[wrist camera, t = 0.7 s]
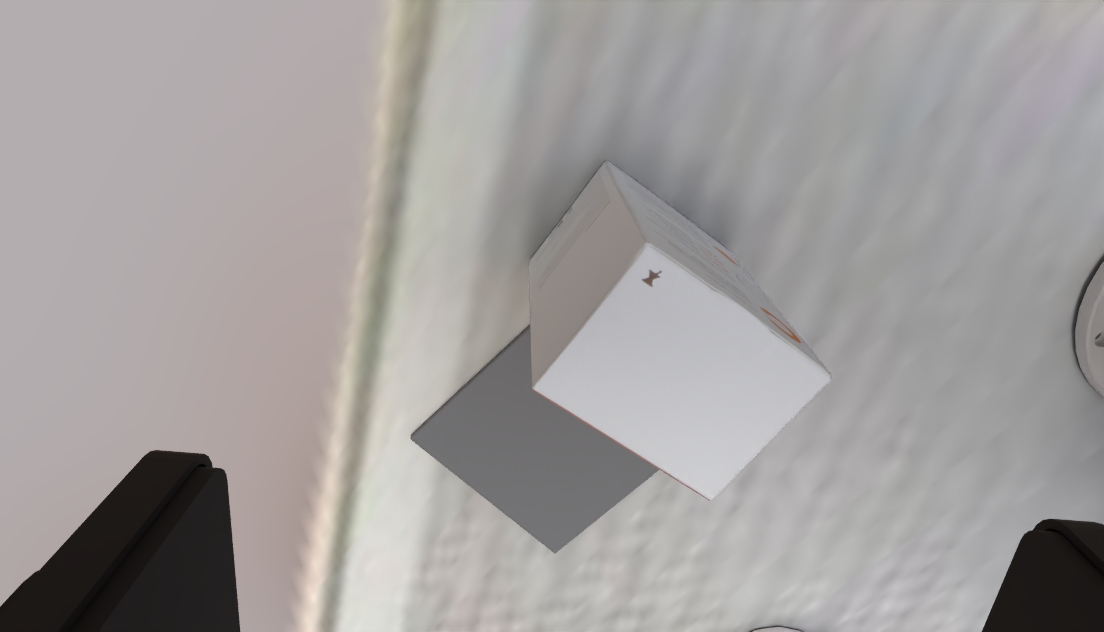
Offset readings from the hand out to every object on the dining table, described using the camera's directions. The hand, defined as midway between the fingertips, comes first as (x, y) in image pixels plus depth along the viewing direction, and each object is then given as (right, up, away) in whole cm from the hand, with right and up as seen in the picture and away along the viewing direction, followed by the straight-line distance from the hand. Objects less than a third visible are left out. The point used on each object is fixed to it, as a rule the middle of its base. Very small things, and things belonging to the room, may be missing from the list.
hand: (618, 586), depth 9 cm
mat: (-1, -3, +31) cm, 31 cm away
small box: (+3, +6, +27) cm, 28 cm away
